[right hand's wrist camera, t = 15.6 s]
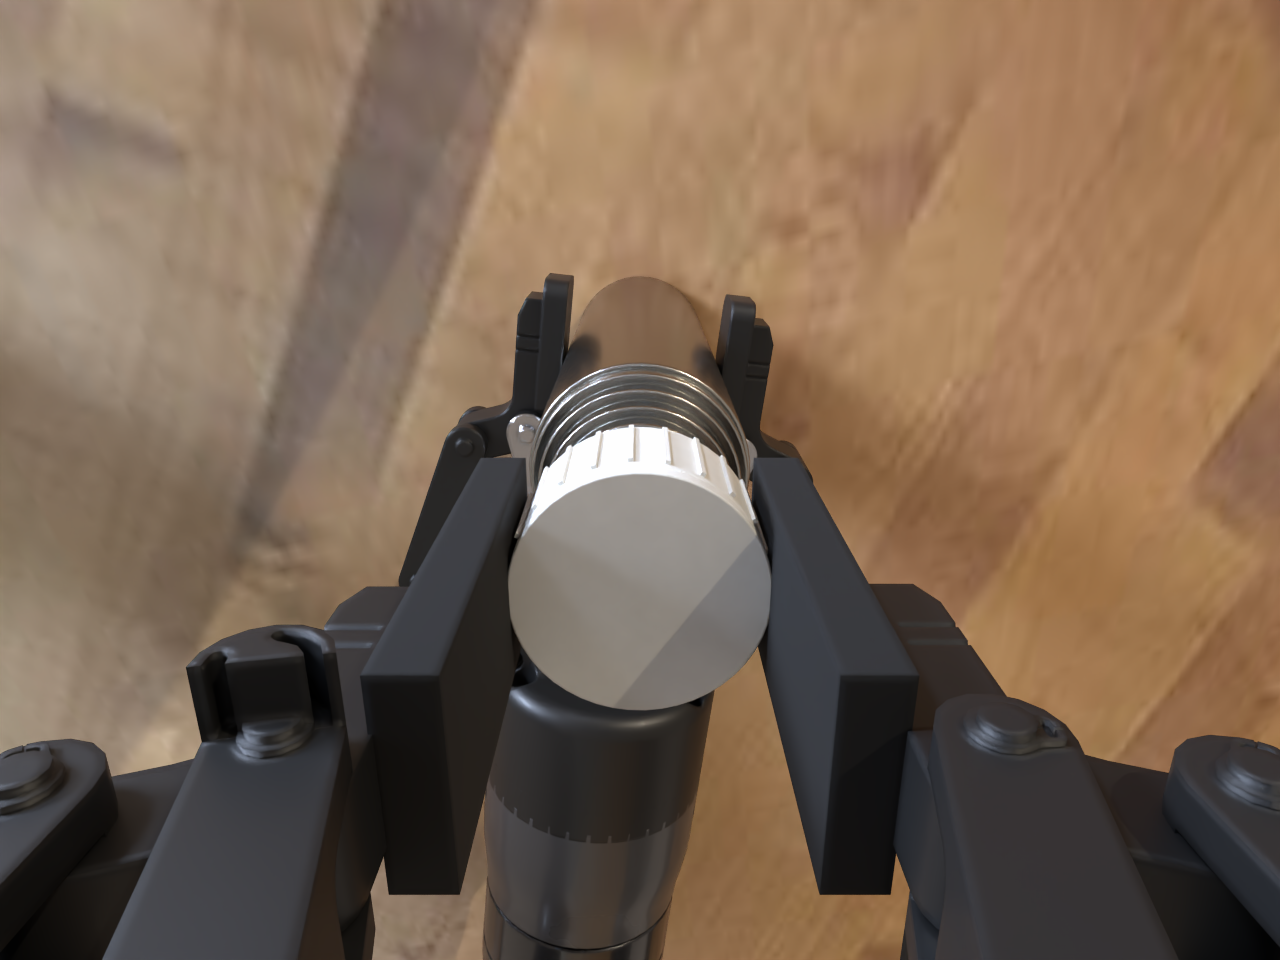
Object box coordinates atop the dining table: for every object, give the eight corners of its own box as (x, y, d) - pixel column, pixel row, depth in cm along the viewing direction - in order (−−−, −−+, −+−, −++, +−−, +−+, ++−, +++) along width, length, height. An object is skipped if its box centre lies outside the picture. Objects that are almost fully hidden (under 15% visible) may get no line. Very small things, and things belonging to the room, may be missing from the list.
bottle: (717, 373, 32) (828, 657, 13) (605, 415, 33) (558, 745, 14) (676, 257, 31) (734, 391, 12) (559, 303, 31) (436, 501, 12)
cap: (586, 379, 14) (576, 418, 11) (801, 487, 14) (830, 544, 12) (485, 579, 15) (458, 648, 13) (687, 670, 15) (694, 751, 13)
